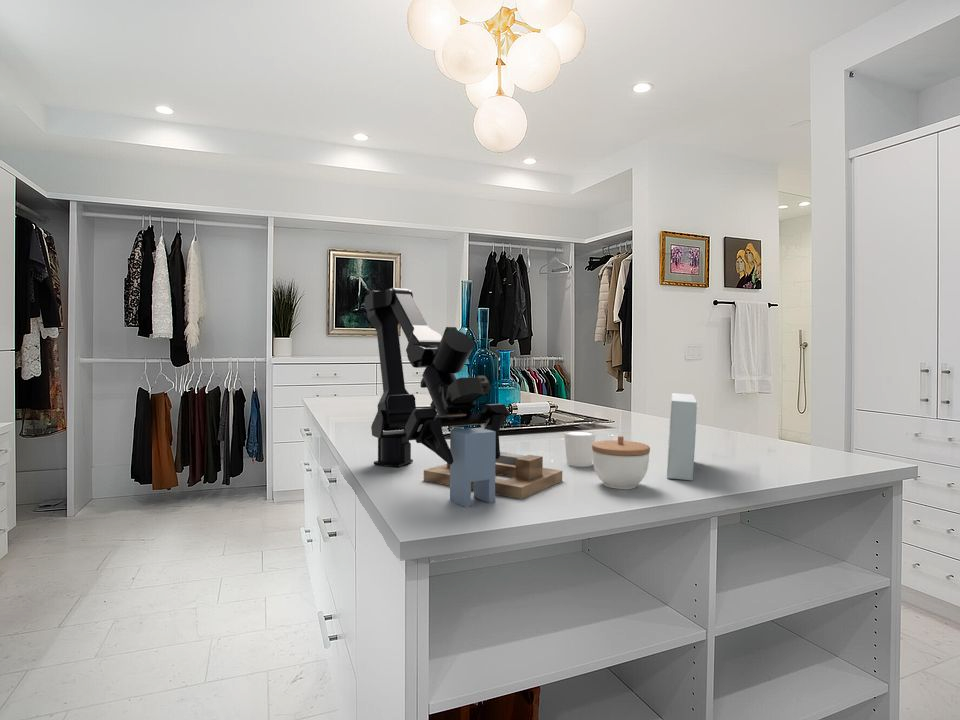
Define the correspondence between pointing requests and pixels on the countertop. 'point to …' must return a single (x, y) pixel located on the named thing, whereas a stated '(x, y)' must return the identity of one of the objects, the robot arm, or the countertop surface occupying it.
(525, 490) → the wooden block stand
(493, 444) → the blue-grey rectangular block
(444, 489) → the countertop surface
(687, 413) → the skincare box
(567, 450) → the white cup
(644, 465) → the lidded jar
